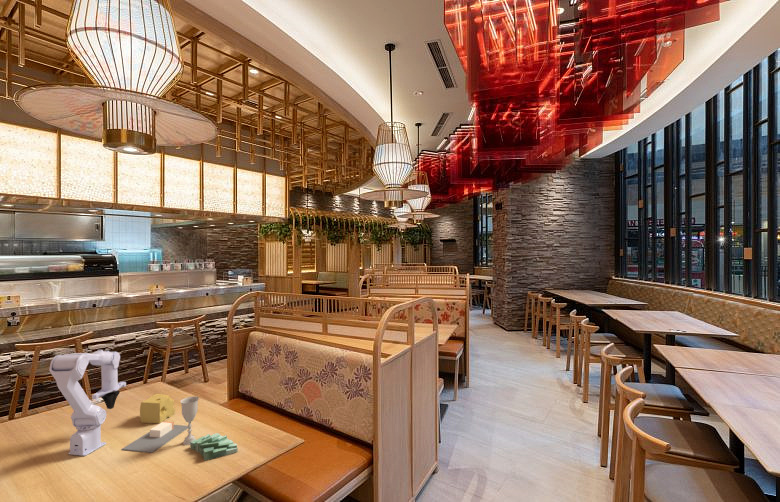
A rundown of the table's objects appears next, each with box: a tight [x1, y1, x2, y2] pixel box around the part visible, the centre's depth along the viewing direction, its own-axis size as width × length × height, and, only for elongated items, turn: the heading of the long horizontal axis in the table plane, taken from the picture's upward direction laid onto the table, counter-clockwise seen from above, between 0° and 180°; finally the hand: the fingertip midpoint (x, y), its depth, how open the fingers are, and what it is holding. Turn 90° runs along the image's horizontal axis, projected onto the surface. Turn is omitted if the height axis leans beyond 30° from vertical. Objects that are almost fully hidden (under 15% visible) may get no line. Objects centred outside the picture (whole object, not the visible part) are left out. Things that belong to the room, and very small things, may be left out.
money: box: [189, 432, 239, 462], centre depth 151 cm, size 20×16×5 cm
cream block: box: [149, 420, 175, 438], centre depth 163 cm, size 3×5×8 cm
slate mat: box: [121, 424, 188, 454], centre depth 160 cm, size 22×14×1 cm, turn 172°
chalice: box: [179, 395, 200, 446], centre depth 156 cm, size 7×7×18 cm
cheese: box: [139, 393, 176, 424], centre depth 178 cm, size 10×11×10 cm
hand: (110, 408), depth 165 cm, fingers closed
